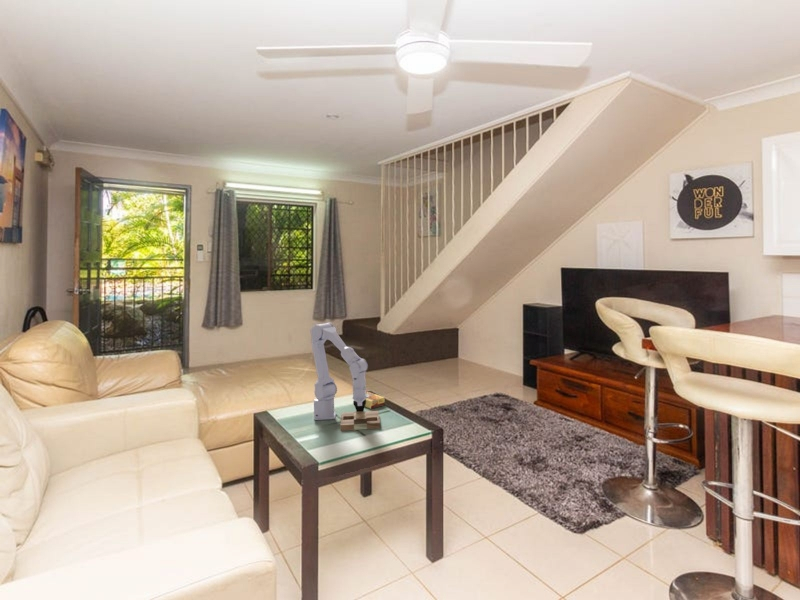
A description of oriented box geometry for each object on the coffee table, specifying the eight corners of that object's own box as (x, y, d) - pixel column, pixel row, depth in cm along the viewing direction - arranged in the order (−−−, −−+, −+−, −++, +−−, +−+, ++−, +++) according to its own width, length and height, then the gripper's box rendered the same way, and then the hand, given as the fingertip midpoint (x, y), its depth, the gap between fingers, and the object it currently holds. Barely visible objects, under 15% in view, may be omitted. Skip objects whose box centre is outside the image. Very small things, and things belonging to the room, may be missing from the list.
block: (355, 423, 184) (355, 414, 183) (355, 420, 188) (355, 411, 187) (365, 423, 184) (364, 414, 184) (364, 419, 188) (364, 411, 188)
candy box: (385, 405, 215) (367, 398, 227) (384, 397, 215) (367, 390, 227) (370, 409, 210) (353, 402, 222) (370, 400, 210) (353, 394, 222)
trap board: (341, 417, 198) (341, 408, 198) (378, 415, 200) (377, 406, 200) (340, 430, 183) (340, 420, 182) (380, 428, 184) (379, 418, 184)
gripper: (368, 390, 182) (369, 422, 182) (367, 382, 196) (368, 411, 197) (352, 391, 181) (353, 423, 182) (352, 382, 195) (353, 411, 196)
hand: (360, 416), depth 189 cm, fingers closed
